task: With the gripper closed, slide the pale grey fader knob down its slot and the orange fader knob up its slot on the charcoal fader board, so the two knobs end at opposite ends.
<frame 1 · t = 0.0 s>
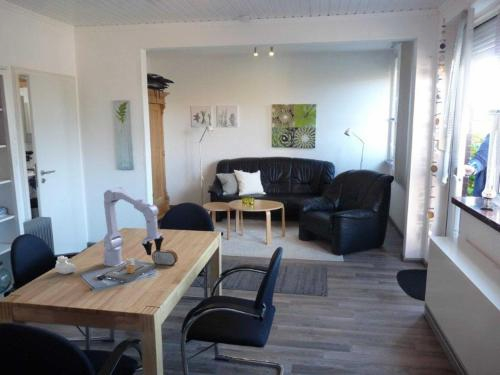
hand: (153, 252, 218), 10 cm above the table, tool pointing down, fingers open, 7 cm apart
orange fader: (130, 268, 212), point 4 cm above the table, slide at -4.0 cm
pale fader: (130, 261, 223), point 4 cm above the table, slide at 4.0 cm
white irregular lump: (65, 273, 220), on the table
fader board: (131, 272, 218), on the table
tin: (164, 264, 229), on the table
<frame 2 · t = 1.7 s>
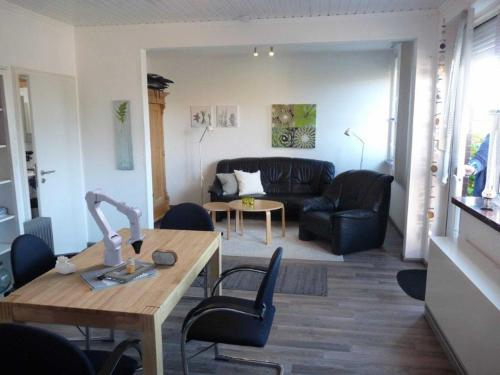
hand: (137, 253, 227), 7 cm above the table, tool pointing down, fingers closed
nothing on the table moved.
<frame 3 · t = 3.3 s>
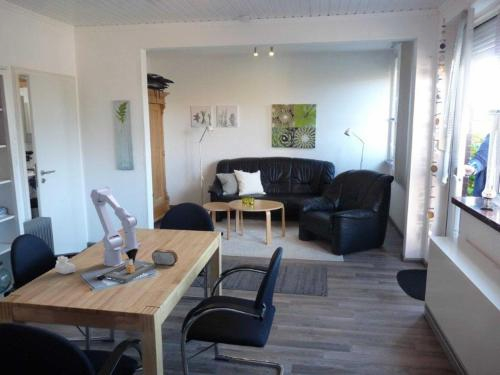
hand: (132, 262, 224), 3 cm above the table, tool pointing down, fingers closed
pale fader: (128, 262, 221), point 4 cm above the table, slide at 2.7 cm, touching gripper
everything else where it was.
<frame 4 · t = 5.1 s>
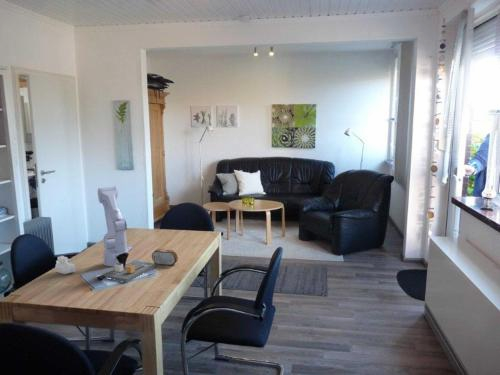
hand: (122, 267, 217), 3 cm above the table, tool pointing down, fingers closed
pale fader: (119, 267, 215), point 4 cm above the table, slide at -4.8 cm, touching gripper
everything else where it was.
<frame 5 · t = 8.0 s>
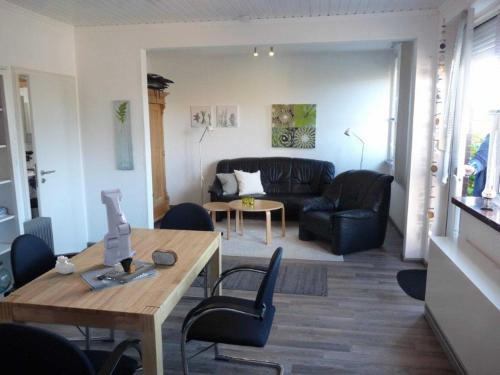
hand: (126, 272, 210), 3 cm above the table, tool pointing down, fingers closed
orange fader: (130, 268, 212), point 4 cm above the table, slide at -4.0 cm, touching gripper
pale fader: (119, 267, 215), point 4 cm above the table, slide at -4.8 cm
everything else where it was.
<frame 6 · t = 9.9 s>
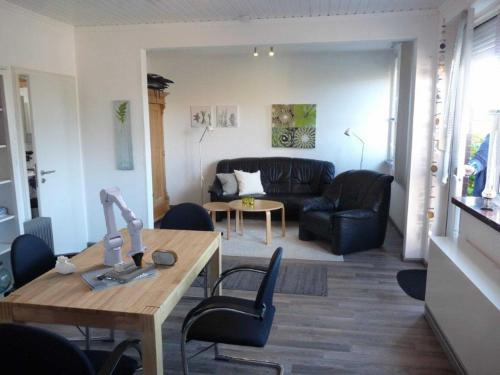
hand: (138, 266, 218), 3 cm above the table, tool pointing down, fingers closed
orange fader: (141, 263, 220), point 4 cm above the table, slide at 4.7 cm, touching gripper
everything else where it was.
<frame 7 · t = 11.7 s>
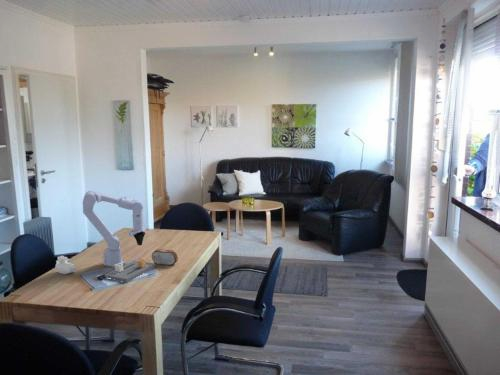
hand: (139, 244, 235), 9 cm above the table, tool pointing down, fingers closed
orange fader: (141, 263, 220), point 4 cm above the table, slide at 4.8 cm
everything else where it was.
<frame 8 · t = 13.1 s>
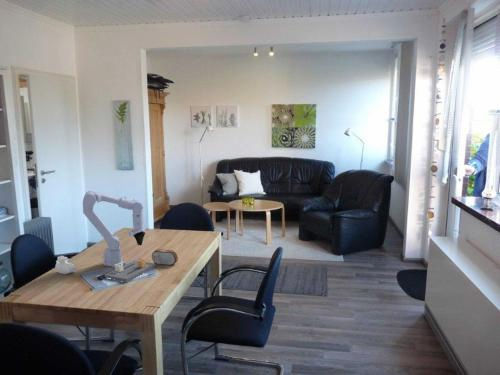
hand: (139, 244, 235), 9 cm above the table, tool pointing down, fingers closed
nothing on the table moved.
at the end: pale fader slide at -4.8 cm; orange fader slide at 4.8 cm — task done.
